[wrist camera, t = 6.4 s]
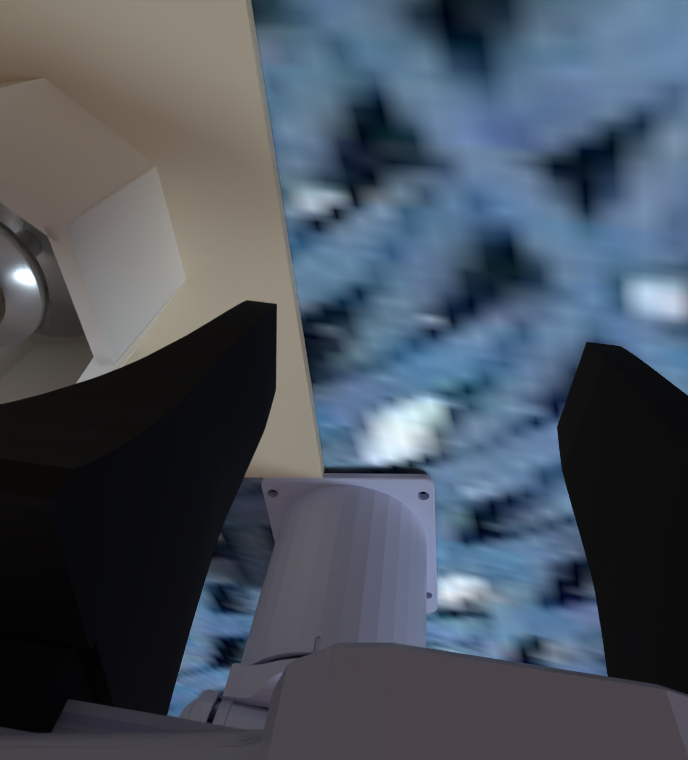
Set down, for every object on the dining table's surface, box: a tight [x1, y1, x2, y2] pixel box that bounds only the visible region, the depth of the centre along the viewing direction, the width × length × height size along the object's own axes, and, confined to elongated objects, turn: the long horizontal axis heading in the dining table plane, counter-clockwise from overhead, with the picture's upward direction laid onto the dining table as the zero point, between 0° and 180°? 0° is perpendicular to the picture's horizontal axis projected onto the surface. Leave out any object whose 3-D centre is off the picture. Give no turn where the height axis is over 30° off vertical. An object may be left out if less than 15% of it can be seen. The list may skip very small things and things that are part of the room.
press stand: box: [0, 0, 325, 478], centre depth 20 cm, size 24×18×7 cm
